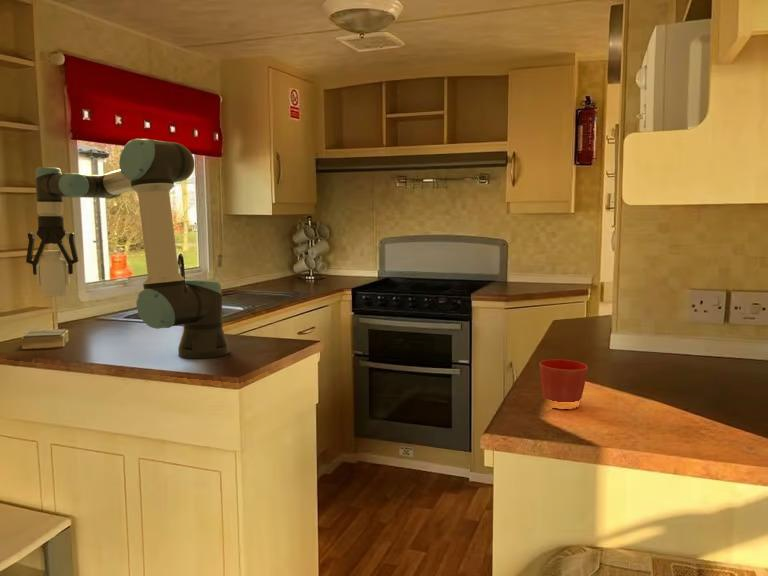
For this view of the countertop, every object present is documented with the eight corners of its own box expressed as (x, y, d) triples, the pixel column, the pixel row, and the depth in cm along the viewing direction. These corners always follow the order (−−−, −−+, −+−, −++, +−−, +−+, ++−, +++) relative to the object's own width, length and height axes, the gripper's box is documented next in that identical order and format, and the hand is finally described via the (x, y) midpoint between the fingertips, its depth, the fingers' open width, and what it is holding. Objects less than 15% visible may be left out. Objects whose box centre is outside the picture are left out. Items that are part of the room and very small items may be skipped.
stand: (63, 346, 213) (62, 334, 213) (22, 349, 210) (21, 336, 209) (68, 340, 225) (68, 328, 224) (30, 342, 221) (29, 330, 221)
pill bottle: (37, 295, 217) (34, 250, 215) (62, 293, 222) (60, 249, 221) (45, 297, 211) (43, 251, 209) (71, 295, 217) (69, 250, 215)
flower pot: (576, 398, 155) (578, 358, 154) (593, 412, 144) (594, 369, 143) (532, 398, 155) (533, 358, 153) (545, 413, 144) (547, 369, 143)
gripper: (86, 215, 220) (89, 282, 223) (17, 214, 214) (21, 283, 217) (83, 215, 213) (86, 284, 216) (12, 215, 207) (15, 286, 210)
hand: (53, 284), depth 216 cm, fingers closed on pill bottle, 8 cm apart
